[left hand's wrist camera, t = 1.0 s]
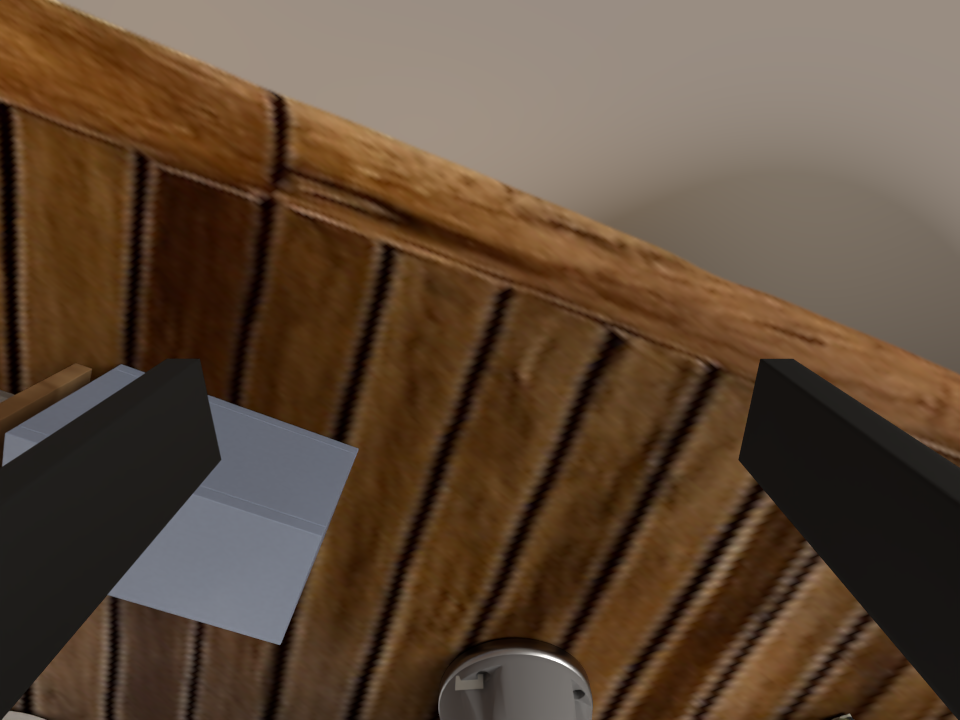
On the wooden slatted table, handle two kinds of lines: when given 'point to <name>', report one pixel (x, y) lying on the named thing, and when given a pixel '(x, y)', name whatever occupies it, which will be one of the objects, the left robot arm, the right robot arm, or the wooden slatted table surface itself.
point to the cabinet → (227, 516)
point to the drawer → (39, 398)
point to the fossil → (844, 717)
